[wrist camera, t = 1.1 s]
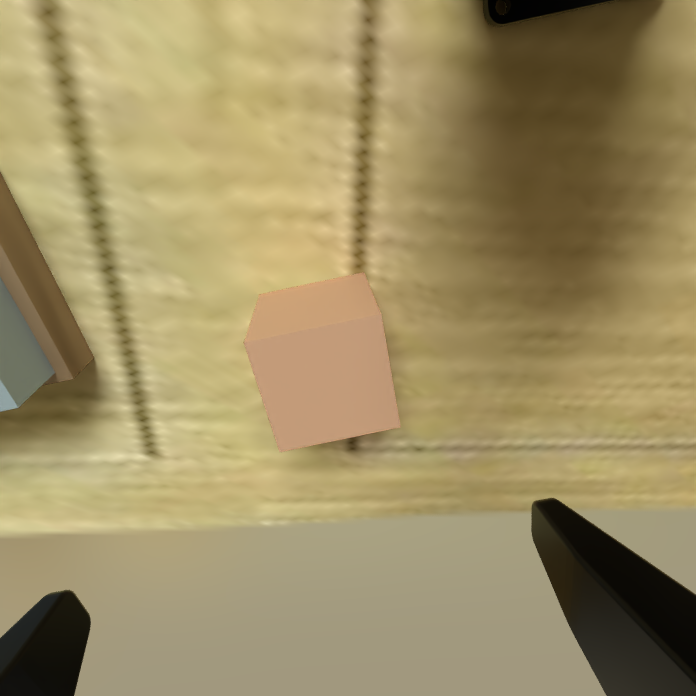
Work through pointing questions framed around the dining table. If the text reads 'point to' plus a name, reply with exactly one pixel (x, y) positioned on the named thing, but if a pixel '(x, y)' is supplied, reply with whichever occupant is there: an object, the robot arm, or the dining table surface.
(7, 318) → the blue slab
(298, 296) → the clay block
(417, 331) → the dining table surface
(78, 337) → the walnut slab
